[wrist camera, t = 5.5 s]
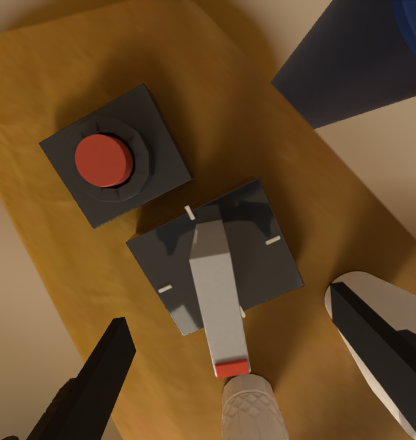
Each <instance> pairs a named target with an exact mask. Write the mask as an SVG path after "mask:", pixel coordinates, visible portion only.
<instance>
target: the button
mask: <svg viewBox="0 0 416 440" xmlns="http://www.w3.org/2000/svg"><path fill="white" fill-rule="evenodd" d="M75 162H76V166H77V169H78V171H79V173H80V174H81V176H82V177H83V178H84V179H85V180H86V181H88V182H89V183H91V184H93V185H96V186H100V187H108V186H113V185H117V184H120V183H122V182H124V181H125V180H126V179H127V178H128V177H129V176H130V174H131V172H132V169H133V158H132V155H131V152H130V150H129V149H128V147H127V146H126V145H125V144H124V143H123V142H122V141H120V140H118V139H116V138H113V137H110V136H106V135H102V134H94V135H90V136H88V137H86V138H84V139H83V140H82V141H81V142H80V143H79V145H78V147H77V149H76V153H75Z"/></svg>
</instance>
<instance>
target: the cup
mask: <svg viewBox="0 0 416 440" xmlns="http://www.w3.org/2000/svg"><path fill="white" fill-rule="evenodd" d="M337 282H344V283H345V284H346V285H347V286H348V287H349V288H350V289H351V290H352V291H353V292H354V293H356V294H357V295H358V296H359V297H360V298H361V299H362V300H363V301H364V302H365V303H366V304H368V305H369V306H370V307H371V308H372V309H373V310H374V311H375V312H376V313H377V314H378V315H379V316H381V317H382V318H383V319H384V320H385V321H386V322H387V323H388V324H389V325H390V326H391V327H393V328H394V329H395V330H396V331H398V330H404V329H408V330H410V331H411V332H413V333H415V334H416V295H414V294H411V293H409V292H407V291H405V290H403V289H401V288H399V287H396V286H394V285H392V284H390V283H388V282H386V281H384V280H381V279H379V278H377V277H375V276H373V275H371V274H369V273H366V272H360V271H355V272H349V273H346V274H343V275H341V276H339V277H338V278H336V279H335V280H334V281H333V282H332V283H337ZM324 302H325V307H326V309H327V311H328V313H329V315H330V316H331V318H332V309H331V294H330V286H329V287H328V289H327V291H326V293H325V299H324ZM337 329H338V328H337ZM338 331H339V330H338ZM339 333H340V334H341V332H340V331H339ZM341 336H342V338H343V340H344V342H345V343H346V345H347V347H348V349H349V351H350V352H351V354H352V356H353V358H354V359H355V361H356V363H357V365H358V367H359V368H360V370H361V372H362V374H363V376H364V377H365V379H366V381H367V383H368V384H369V386H370V387H371V389H372V390H373V392H374V393H375V394H376V395H377V397H378V398H379V399H380V400H381V401H382V402H383V404H384V405H385V406H386V407H387V409H388V410H389V411H390V412H391V414H392V415H393V416H394V417H395V419H396V420H397V421H398V422H399V424H400V425H401V426H402V427H403V429H404V430H405V431H406V432H407V434H408V435H409V436H411V437H412V438H413V439H415V440H416V432H415V431H414V429H413V428H412V427H411V425H410V424H409V423H408V421H407V420H406V419H405V417H404V416H403V415H402V413H401V412H400V411H399V409H398V408H397V407H396V405H395V404H394V403H393V401H392V400H391V399H390V397H389V396H388V395H387V393H386V392H385V391H384V389H383V388H382V387H381V385H380V384H379V383H378V381H377V380H376V379H375V377H374V376H373V375H372V373H371V372H370V371H369V369H368V368H367V367H366V365H365V364H364V363H363V361H362V360H361V359H360V357H359V356H358V355H357V353H356V352H355V351H354V350H353V348H352V347H351V346H350V344H349V343H348V342H347V340H346V339H345V338H344V336H343V335H342V334H341Z"/></svg>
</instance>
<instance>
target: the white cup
mask: <svg viewBox="0 0 416 440" xmlns="http://www.w3.org/2000/svg"><path fill="white" fill-rule="evenodd" d="M222 407H223V412H222V440H290V437H289V434H288V431H287V428H286V425H285V422H284V419H283V417H282V414H281V411H280V408H279V407H278V405H277V402H276V400H275V397H274V394H273V391H272V388H271V385H270V383H269V382H268V381H266V380H265V379H264V378H263V377H261V376H258V375H254V374H242V375H239V376H236V377H234V378H232V379H230V381H229V382H228V383H227V384H226V385H225V386H224V390H223V395H222Z"/></svg>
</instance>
